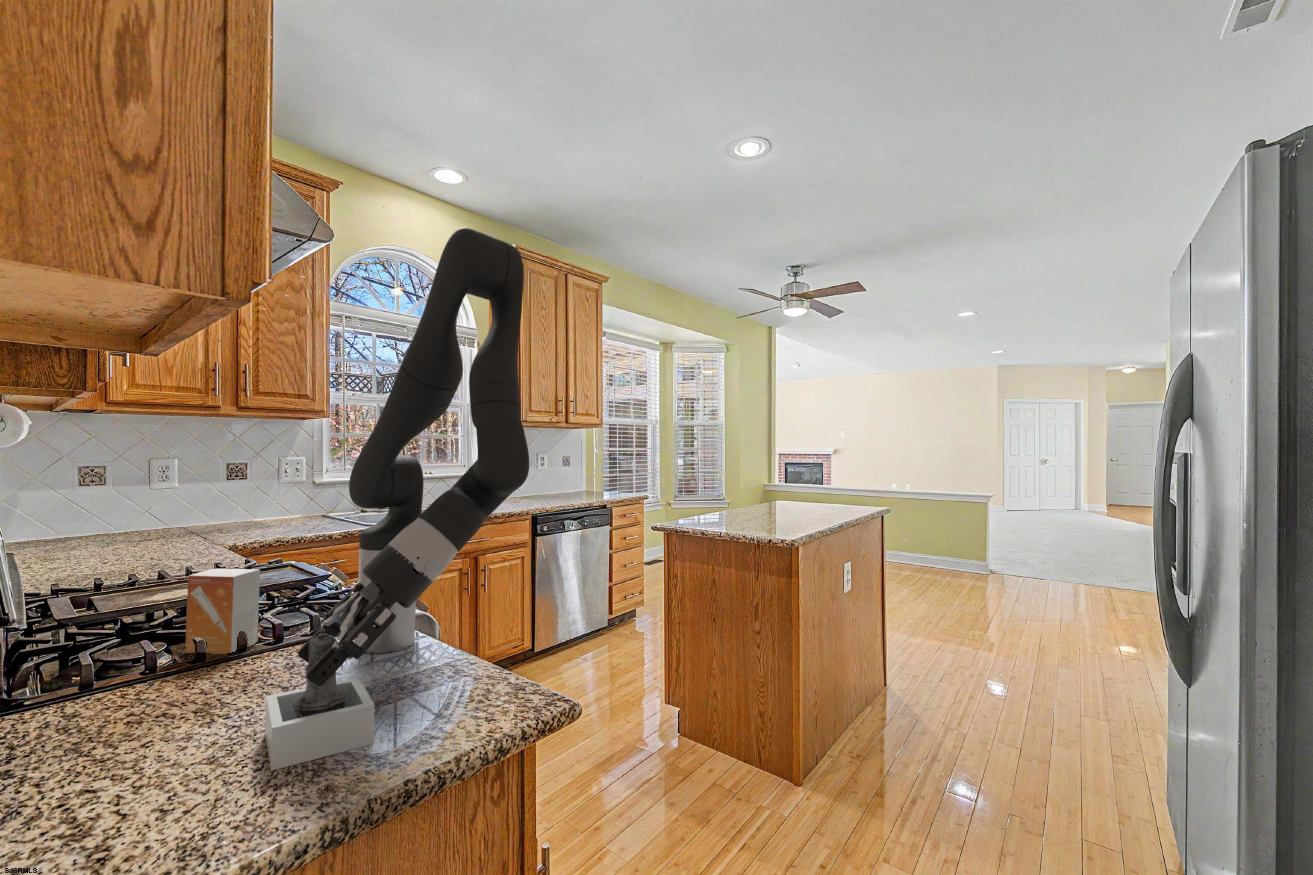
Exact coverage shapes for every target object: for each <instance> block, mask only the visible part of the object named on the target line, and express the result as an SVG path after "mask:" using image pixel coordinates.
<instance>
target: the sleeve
mask: <svg viewBox="0 0 1313 875" xmlns="http://www.w3.org/2000/svg"><path fill="white" fill-rule="evenodd" d="M336 684H337V688H338V689H342V690H345V691H347V692H348V693H349V697H348V699H347V700H346V705H345V707H344V708H343V709H338V710H334V711H329V712H325V713H320V714H316V715H311V716H307V717H303V718H297V716H296V713H295V709H294V708H293V707H292V703H293V701H294V700H295V699H297V698H298V697H300V696H302V695H304V694H305V691H306V688H307V687H304V688H300V689H296V690H295V689H294V690H290V691H285V692H279V693H275V694H270V695H266V696H265V698H266V699H265V720H264V721H265V723H264V724H265V728H264V730H265V732H264V735H265V736H264V737H265V742H266V749H267V754H268V761H269V767H270V771H271V772H273V771H275V770H276V771H277V770H281V769H283V768H287V767H291V766H294V765H298V764H302V763H303V764H304V763H306V762H309V761H314V760H318V759H320V758H324V757H328V756H332V755H337V754H340V753H344V752H347V751H352V750H355V749H358V748H359V749H360V748H362V747H363V748H364V747H367V746H370V745H374V744H375V742H374V738H375V735H374V734H375V703H374V700H372V698H371V696H370V695H369V693H368V692H367V690H366V688H365V686H364V685H363V683H362V682H361V680H360V678H359V677H354V678H349V679H345V680H340V681H336Z"/></svg>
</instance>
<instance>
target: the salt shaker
mask: <svg viewBox="0 0 1313 875" xmlns="http://www.w3.org/2000/svg"><path fill="white" fill-rule="evenodd" d="M321 628H322V627H321ZM325 631H326V630H325V628H324V627H323V628H322V629H321V631H320V632H321V634H319V635H318V636H316V637H314V638H313V639H312V640H311V641H310V643H309V659H308V662H307V663H308V665H306V666H305V667H304V670H303V671H305V673H306V672H307V671H308V670H309V669H310V668H311V667H312V666H313V665H314V664H315V663H316V662H317V661H318V660H319V659H320V658H321V657H322V656H323V654H324V653H325V652H326V651H327V650H328V649H329V648H330V647H332V646H333V644H334V642H335V641H336V640H337V638H335V637H334V636H331V635H328V634H326V633H325ZM332 648H333V647H332ZM333 649H334V648H333ZM336 682H337V671H336V672H335V673H334V674H333V675H332V676H331V677H330V678H329V679H328V680H327V681H326V682H325V683H324V684H323V685H322V686H317V685H315V684H314V683H312V682H311V681H309V680H308V679H307V678H306V687H305V688H306V691H305V694H304V695H302V696H300V697H298V698H297V699H295V700H294V701H293V703H292V707H293V708H294V709H295V713H296V716H297V718H303V717H307V716H311V715H316V714H320V713H325V712H329V711H334V710H338V709H343V708H344V707H345V705H346V700H347V699H348V697H349V693H348V692H347V691H345V690H342V689H338V688H337V684H336Z"/></svg>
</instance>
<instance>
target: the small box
mask: <svg viewBox="0 0 1313 875" xmlns="http://www.w3.org/2000/svg"><path fill="white" fill-rule="evenodd" d="M260 575H261V569H259V568H257V569H256V568H255V569H249V568H247V569H246V568H213V569H208V570H204V571H199V572H196V573H193V574H190V575H188V576H187V578H188V579H187V596H186V599H187V600H186V602H187V603H186V622H185V623H186V624H185V649H184V650H185V651H184V652H185V653H186V654H196V653H195V644H194V642H193V637H200V638H201V639H204V640H205V641H206V642H207V647H208V651H209V653H210V655H214V654H215V655H227V654H226V653H232V652H235V651H236V649H237V637H238V634H239V632H240V631H244V632H245V633H246V634H247V638H248V644H249V645H250V646H249V647H251V645H252V646H254V645H255V643H256V642H257V643H258V639H259V637H258V636H259V610H260V609H259V604H260V577H261V576H260ZM257 643H256V644H257ZM209 653H208V654H209Z"/></svg>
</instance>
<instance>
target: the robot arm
mask: <svg viewBox="0 0 1313 875" xmlns="http://www.w3.org/2000/svg"><path fill="white" fill-rule="evenodd" d="M524 269H525V268H524V260H523V256H522V255H521V253H520V251H519V250H518V248H517V247H516V246H514V245H512V244H510V243H508V242H506V241H503V240H501V239H499V238H497V237H494V236H491V235H489V234H487V233H483V232H482V231H479V230H476V229H473V228H470V227H460V228H458V229H456V230H455V231H454V232H452V234H451V235H450V237H449V238H448V240H447V242H446V244H445V245H444V248H443V249H442V253H441V255H440V259H439V260H438V264H437V267H436V270H435V274H434V277H433V280H432V283H431V287H430V291H429V294H428V295H427V300H426V303H425V306H424V309H423V313H422V314H421V317H420V319H419V322H418V324H417V327H416V330H415V333H414V335H413V338H412V340H411V342H410V345H409V347H408V349H407V351H406V353H405V355H404V357H403V359H402V362H401V364H400V366H399V369H398V370H397V374H396V376H395V378H394V382H393V384H392V387H391V390H390V391H389V395H388V397H387V400H386V402H385V404H384V407H383V409H382V410H381V413H380V416H379V418H378V420H377V422H376V424H375V425H374V428H373V430H372V432H371V433H370V435H369V437H368V438H367V440H366V442H365V444H364V446H363V447H362V449H361V451H360V452H359V454H358V456H357V458H356V460H355V462H354V465H353V468H352V470H351V473H350V477H349V481H348V482H349V483H348V492H349V497H350V499H351V501H352V503H353V504H354V505H356V506H357V507H359V508H361V509H362V508H363V509H386V508H387V509H388V511H387V513H386V515H385V516H384V517H383V518H382V519H381V520H379V521H378V522H377V523H375V524H373V525H371V526H369V527H367V528H365V529H364V530H362V531H361V532H360V534H359V545H358V546H359V547H358V549H359V550H358V583H356V584H355V585H354V586H353V587H352V589H350V591H348V593H346V594H345V595H344V596H343V597H342V598H341V599H340V600H339V601H338V602H337V603H336V604H335V605H333V607H332V608H331V609H329V611H328V612H326V613H325V614H324V615H323V618H322V620H323V621H322V623H321V625H320V628H319V629H318V630H317V631H316V632H315V633H314V634H313V635H312V636H311V637H310V638H309V639H308V640H307V641H306V642H305V643H304V645H302V646H301V647H300V648H299V649H298V651H297V655H298V657H299V658H300V659H302V660H303V661H305V662H306V663H308V659H309V643H310V641H311V640H312V639H313V638H314V637H316V636H318V635H319V634H321V632H320V631H321V629H322V628H323V627H324V628H325V630H326V631H325V633H326V634H328V635H331V636H333V637H334V638H335V639H336V641H335V642H334V644H333V646H332V647H333V648H334V649H333V648H332V647H330V648H329V649H328V650H327V651H326V652H325V653H324V654H323V656H322V657H321V658H320V659H319V660H318V661H317V662H316V663H315V664H314V665H313V666H312V667H311V668H310V669H309V670H308V671H307V672H306V671H305V677H306V680H307V679H308V680H309V681H311V682H312V683H314V684H315V685H317V686H322V685H323V684H324V683H325V682H326V681H327V680H328V679H329V678H330V677H331V676H332V675H333V674H334V673H335V672H336V673H337V671H338V670H339V668H341V667H342V665H344V663H346V662H347V660H349V661H350V660H352V659H354V660H358V659H360V658H362V657H363V655H364V654H365V653H367V654H368V653H369V654H382V653H384V654H385V653H391V652H390V651H392V652H396V650H397V651H399V649H400V650H404V649H407V648H409V647H410V645H411V646H413V645H414V644H415V638H416V637H415V636H416V610H417V609H416V606H417V605H416V601H417V600H418V599H419V598H420V597H421V596H422V594H423V593H424V592H425V591H426V590H427V589H428V588H429V587H430V586H431V585H432V584H433V583H434V582H435V581H436V580H437V579H438V578H439V576H440V575H441V574H442V573H443V572H444V571H445V570H446V569H447V568H448V566H449V565H450V564H451V563H452V561H453V560H454V558H455V557H456V556H457V554H458V553H459V552H460V551H461V550H462V549H463V548H464V547H465V546H466V545H467V543H469V542H470V541H471V539H472V538H473V537H474V536H475V535H476V534H477V533H478V531H479V530H480V529H481V527H482V526H483V524H484V522H485V520H486V519H487V518H489V516H490V515H491V514H492V513H494V512H495V510H497V509H498V507H499V506H500V505H502V503H503V502H505V501H506V500H507V499H508V498H509V497H510V496H511V495H512V494H513V493H515V491H517V490H518V489H520V488H521V487H522V486H523V485H524V483H525V482H526V480H527V478H528V476H529V472H530V454H529V448H528V441H527V438H526V434H525V429H524V425H523V422H522V411H521V410H522V408H521V395H520V394H521V393H520V382H519V381H520V380H519V365H518V364H519V363H518V362H519V359H518V357H519V344H520V343H519V342H520V333H521V324H522V323H521V322H522V311H523V310H522V309H523V300H524V298H523V296H524V282H525V270H524ZM466 295H470V296H474V297H477V298H480V299H483V300H487V301H488V302H489V304H490V310H491V324H490V329H489V330H488V332H487V335H486V337H485V339H484V341H483V343H482V344H481V346H480V347H479V349H478V351H477V353H476V354H475V356H474V358H473V360H472V363H471V365H470V370H469V377H468V380H469V381H468V386H469V387H468V388H469V389H468V390H469V403H470V415H471V422H472V424H473V425H472V426H474V428H475V429H476V444H477V445H476V446H477V459H476V461H475V462H473V464H472V465H471V466H470V467H469V468H468V469H467V470H466V471H465V472H464V474H463V475H462V476H461V477H459V479H458V480H457V481H455V484H453V485H452V487H450V489H449V490H446V491H444V492H443V493H441V494H440V496H438V497H437V498H436V499H435V500H434V501H433V502H431V504H430V505H429V506H428V507H427V508H426V509H424V510H422V507H423V498H424V483H425V482H424V472H423V468H422V465H421V463H420V461H419V460H418V459H417V458H416V457H414V456H412V455H406V454H405V455H402V454H401V455H400V453H401V451H402V450H403V449H404V448H405V447H407V445H408V444H409V443H410V442H411V441H412V440H413V439H415V437H417V436H418V435H419V434H421V433H422V432H424V431H425V430H426V429H428V428H429V427H430V426H432V425H433V424H434V423H435V422H436V421H438V419H440V418H441V417H442V416H443V415H444V414H445V413H446V411H447V410H448V408H449V407H450V404H451V403H452V401H453V399H454V396H455V394H456V392H457V390H458V388H459V386H460V385H461V382H462V378H463V374H464V367H463V366H464V365H463V357H462V353H461V348H460V344H459V340H458V334H457V319H458V316H459V311H460V309H461V305H462V303H463V301H464V298H465V297H466ZM422 511H423V512H422ZM408 646H409V647H408ZM403 648H404V649H403Z"/></svg>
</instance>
